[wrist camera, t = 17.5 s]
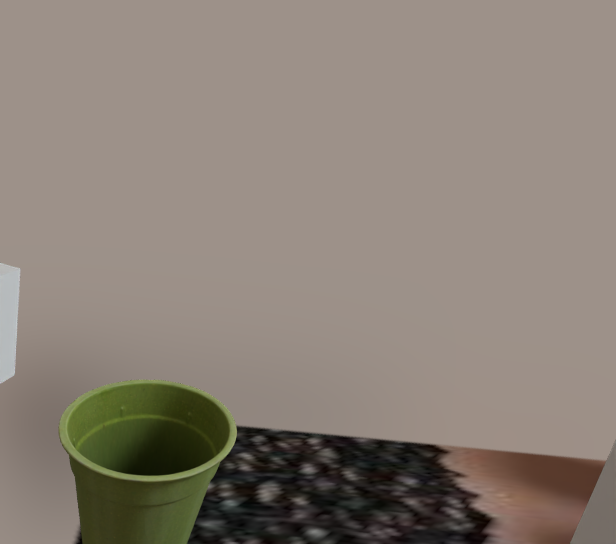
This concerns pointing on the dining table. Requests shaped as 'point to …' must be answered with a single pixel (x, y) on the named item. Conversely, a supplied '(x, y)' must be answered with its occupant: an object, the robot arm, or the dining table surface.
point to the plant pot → (144, 458)
